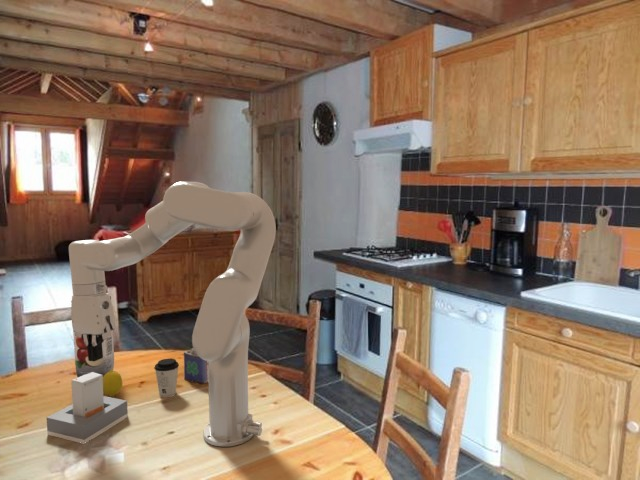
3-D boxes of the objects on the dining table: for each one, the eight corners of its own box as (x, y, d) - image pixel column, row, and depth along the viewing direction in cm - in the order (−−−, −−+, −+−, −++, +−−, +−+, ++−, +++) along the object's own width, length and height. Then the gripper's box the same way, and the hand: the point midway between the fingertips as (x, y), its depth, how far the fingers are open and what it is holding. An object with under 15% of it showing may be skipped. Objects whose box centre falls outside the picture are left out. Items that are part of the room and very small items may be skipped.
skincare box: (84, 429, 114) (81, 383, 113) (73, 425, 116) (70, 379, 115) (105, 418, 119) (103, 374, 118) (94, 414, 121) (92, 371, 120)
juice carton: (89, 368, 156) (85, 290, 153) (118, 369, 154) (114, 291, 151) (71, 378, 147) (66, 296, 144) (102, 380, 145) (97, 297, 143)
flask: (209, 382, 144) (208, 349, 143) (203, 385, 142) (201, 352, 141) (188, 376, 149) (187, 344, 148) (181, 379, 146) (180, 347, 145)
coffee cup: (164, 401, 131) (163, 367, 130) (150, 395, 135) (149, 362, 134) (184, 393, 136) (183, 360, 135) (170, 387, 141) (169, 355, 140)
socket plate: (127, 416, 122) (127, 400, 122) (84, 443, 109) (83, 426, 109) (93, 409, 126) (92, 393, 126) (47, 434, 113) (46, 417, 113)
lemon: (115, 401, 131) (113, 374, 130) (98, 400, 132) (96, 373, 131) (126, 393, 136) (125, 367, 135) (110, 391, 137) (109, 366, 136)
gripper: (124, 287, 116) (129, 356, 118) (79, 285, 121) (85, 352, 123) (101, 293, 109) (107, 367, 111) (54, 291, 114) (61, 362, 116)
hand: (95, 359), depth 117 cm, fingers closed
